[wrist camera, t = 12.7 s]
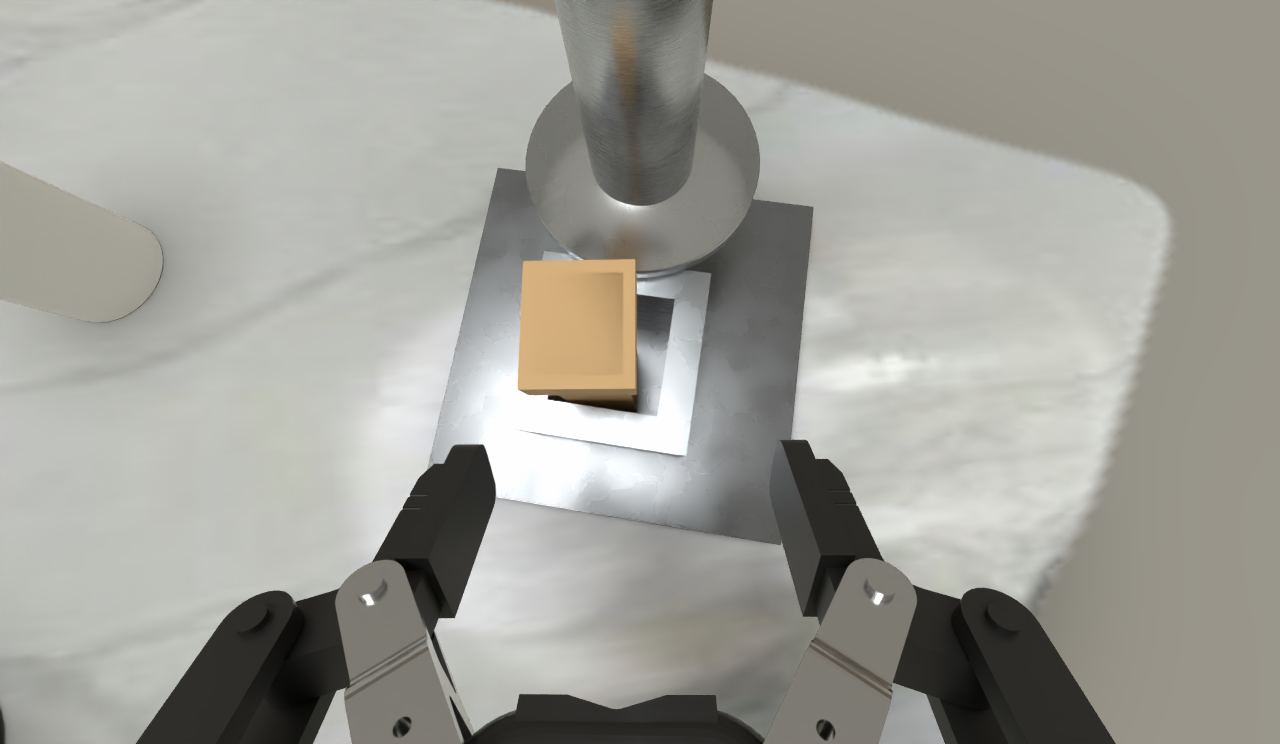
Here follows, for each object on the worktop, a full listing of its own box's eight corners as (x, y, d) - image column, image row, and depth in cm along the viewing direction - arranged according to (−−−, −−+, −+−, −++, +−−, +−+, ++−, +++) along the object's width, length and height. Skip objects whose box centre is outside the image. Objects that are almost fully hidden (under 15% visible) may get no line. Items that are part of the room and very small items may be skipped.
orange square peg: (644, 420, 27) (635, 388, 15) (577, 421, 27) (517, 389, 15) (643, 345, 28) (635, 259, 16) (579, 346, 28) (523, 260, 16)
